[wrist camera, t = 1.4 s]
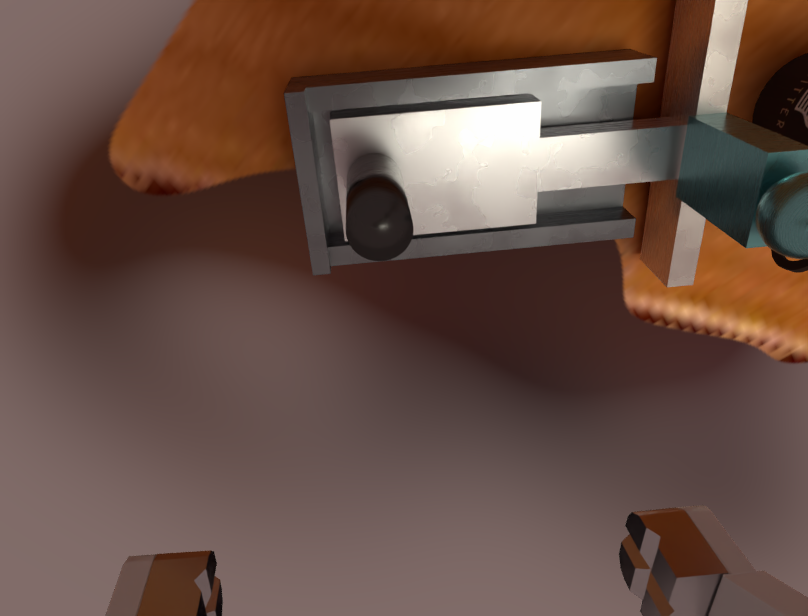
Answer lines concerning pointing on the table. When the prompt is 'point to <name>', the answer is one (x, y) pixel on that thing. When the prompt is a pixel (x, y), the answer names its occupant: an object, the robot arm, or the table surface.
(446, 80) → the rail
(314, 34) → the table surface
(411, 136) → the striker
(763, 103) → the coffee mug
